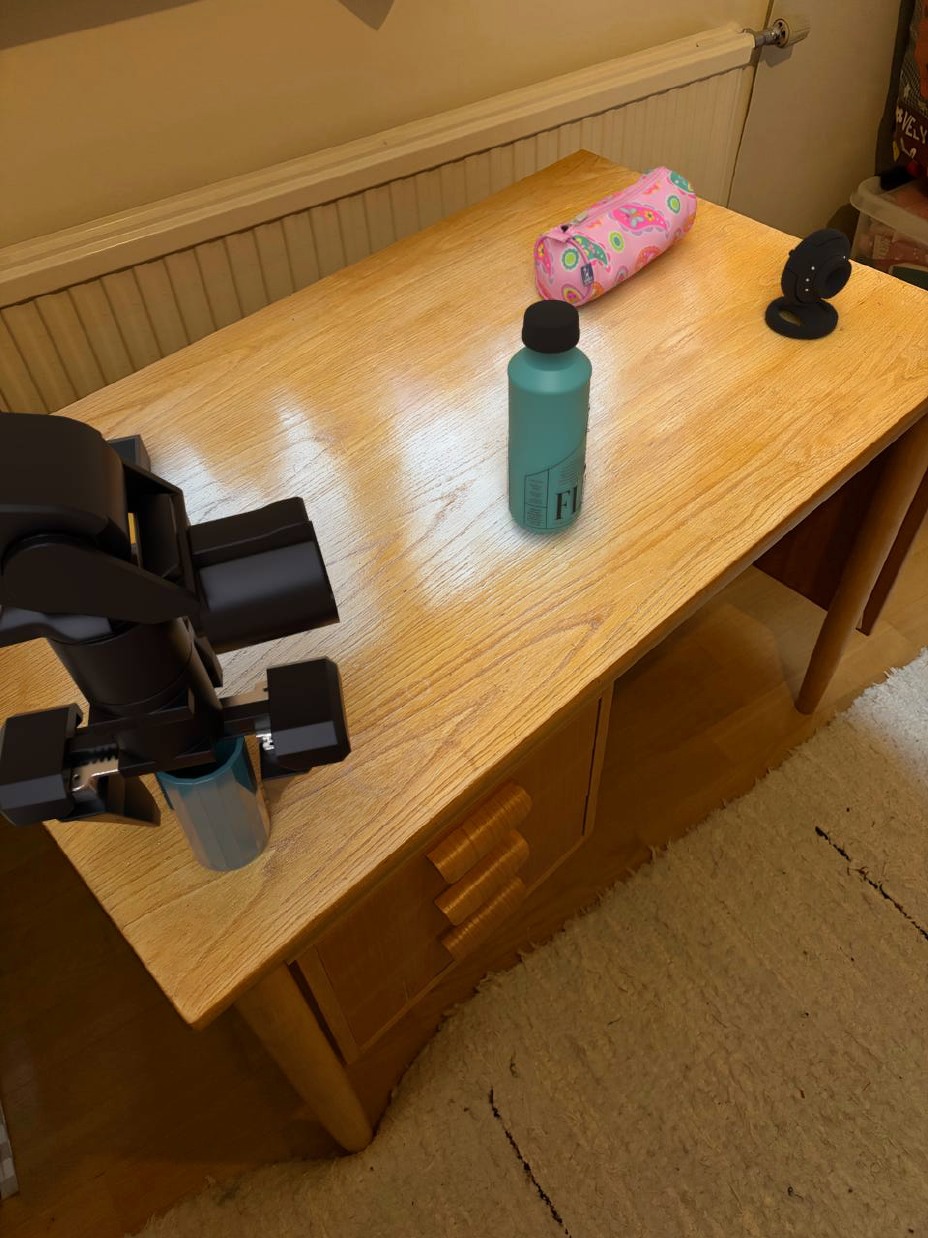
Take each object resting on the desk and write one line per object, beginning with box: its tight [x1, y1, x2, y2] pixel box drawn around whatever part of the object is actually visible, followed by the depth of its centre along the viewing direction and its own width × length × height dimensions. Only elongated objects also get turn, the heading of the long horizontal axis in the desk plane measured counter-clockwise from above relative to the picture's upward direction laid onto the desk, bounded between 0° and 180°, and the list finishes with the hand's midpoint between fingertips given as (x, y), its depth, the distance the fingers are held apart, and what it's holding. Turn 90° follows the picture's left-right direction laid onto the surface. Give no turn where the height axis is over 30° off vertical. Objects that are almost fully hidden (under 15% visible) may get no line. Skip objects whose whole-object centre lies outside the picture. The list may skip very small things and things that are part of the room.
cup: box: [152, 736, 271, 872], centre depth 54 cm, size 5×5×11 cm
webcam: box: [764, 227, 853, 340], centre depth 90 cm, size 8×8×10 cm
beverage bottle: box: [505, 299, 593, 534], centre depth 68 cm, size 6×7×20 cm
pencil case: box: [533, 165, 698, 308], centre depth 99 cm, size 21×9×9 cm, turn 136°
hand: (217, 808), depth 55 cm, fingers closed on cup, 7 cm apart
